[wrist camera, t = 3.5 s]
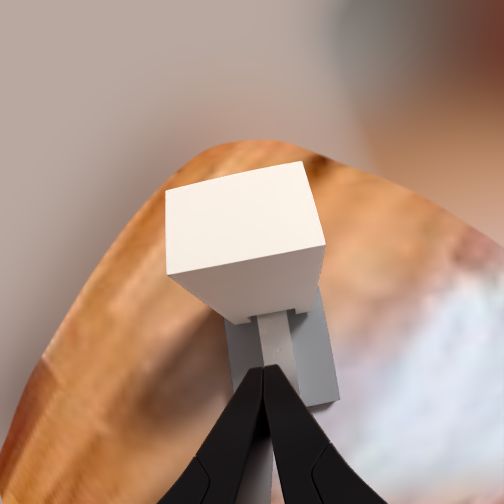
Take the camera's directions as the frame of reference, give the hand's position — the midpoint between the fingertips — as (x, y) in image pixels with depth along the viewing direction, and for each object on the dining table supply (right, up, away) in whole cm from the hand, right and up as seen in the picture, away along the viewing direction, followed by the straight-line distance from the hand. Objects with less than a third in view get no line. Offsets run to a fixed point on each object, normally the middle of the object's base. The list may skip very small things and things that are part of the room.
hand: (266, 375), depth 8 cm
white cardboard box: (+1, +1, +10) cm, 10 cm away
